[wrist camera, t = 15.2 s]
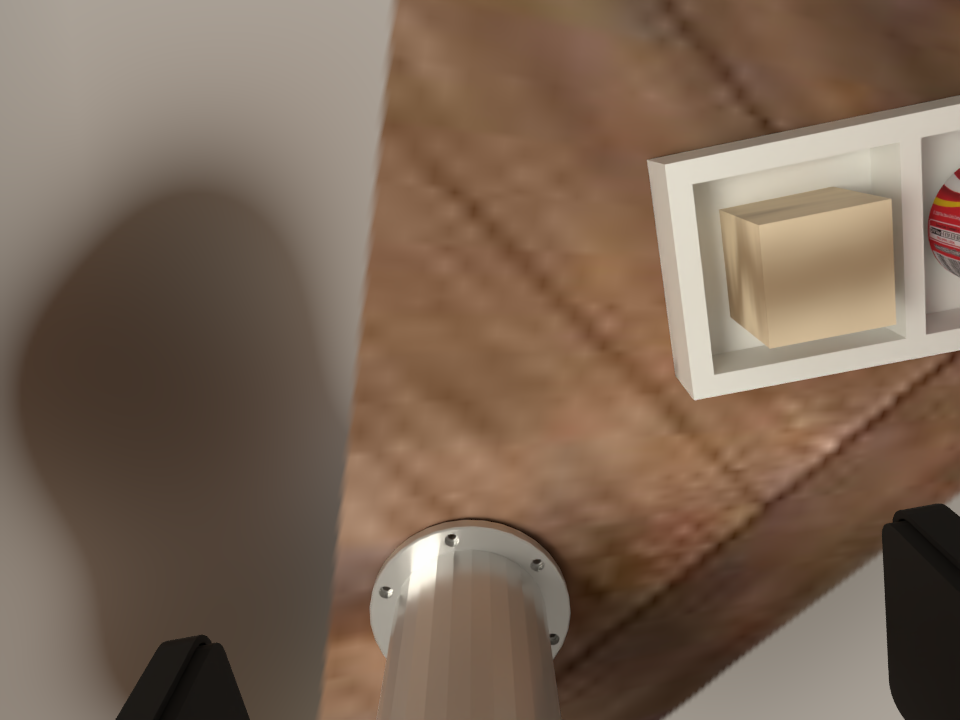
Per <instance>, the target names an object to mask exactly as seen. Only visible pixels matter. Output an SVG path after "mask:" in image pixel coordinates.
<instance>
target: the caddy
mask: <svg viewBox="0 0 960 720" xmlns="http://www.w3.org/2000/svg"><path fill="white" fill-rule="evenodd" d="M647 163H648V171H649V178H650V186H651V194H652V201H653V209H654V216H655V224H656V232H657V239H658V247H659V254H660V262H661V270H662V277H663V285H664V292H665V300H666V308H667V315H668V323H669V330H670V338H671V346H672V353H673V361H674V368H675V376H676V377H677V378H678V380H679V381H680V382H681V384H682V385H683V386H684V388H685V389H686V390H687V392H688V393H689V394H690V395H691V397H692V398H693V399H694V400H698V399H703V398H709V397H714V396H719V395H725V394H730V393H735V392H741V391H746V390H751V389H756V388H762V387H767V386H772V385H778V384H783V383H788V382H794V381H799V380H804V379H809V378H815V377H820V376H825V375H831V374H836V373H841V372H847V371H852V370H857V369H862V368H868V367H873V366H878V365H884V364H889V363H894V362H900V361H905V360H910V359H915V358H921V357H926V356H931V355H937V354H942V353H947V352H953V351H958V350H960V278H959V277H958V276H956V275H954V274H952V273H951V272H949V271H948V270H946V269H945V268H944V267H943V266H942V265H941V264H940V263H939V262H938V260H937V259H936V258H935V256H934V254H933V252H932V250H931V247H930V243H929V239H928V219H929V214H930V210H931V207H932V204H933V202H934V199H935V197H936V196H937V194H938V192H939V190H940V189H941V187H942V186H943V185H944V183H945V182H946V181H947V180H948V178H949V177H950V176H951V175H952V174H953V173H954V172H956V171H957V170H958V169H959V168H960V95H958V96H954V97H949V98H944V99H939V100H934V101H929V102H925V103H920V104H915V105H910V106H905V107H900V108H895V109H891V110H886V111H881V112H876V113H871V114H866V115H862V116H857V117H852V118H847V119H842V120H837V121H833V122H828V123H823V124H818V125H813V126H808V127H803V128H799V129H794V130H789V131H784V132H779V133H774V134H770V135H765V136H760V137H755V138H750V139H745V140H741V141H736V142H731V143H726V144H721V145H716V146H711V147H707V148H702V149H697V150H692V151H687V152H682V153H678V154H673V155H668V156H663V157H658V158H653V159H649V160H647ZM828 187H837V188H842V189H847V190H852V191H857V192H861V193H866V194H871V195H876V196H881V197H886V198H890V199H892V223H893V250H894V276H895V303H896V325H891V326H886V327H881V328H876V329H870V330H865V331H860V332H855V333H850V334H844V335H839V336H834V337H829V338H823V339H818V340H813V341H808V342H802V343H797V344H792V345H787V346H782V347H776V348H771V349H770V348H768V347H767V346H766V345H765V344H763V343H762V342H761V341H760V340H758V339H757V338H756V337H755V336H753V335H752V334H751V333H750V332H748V331H747V330H746V329H745V328H743V327H742V326H741V325H740V324H738V323H737V322H736V321H735V320H733V319H732V318H731V317H730V309H729V299H728V290H727V280H726V271H725V261H724V252H723V243H722V233H721V224H720V214H719V209H724V208H729V207H734V206H739V205H744V204H749V203H754V202H759V201H764V200H769V199H774V198H779V197H784V196H789V195H794V194H799V193H804V192H809V191H814V190H818V189H823V188H828Z"/></svg>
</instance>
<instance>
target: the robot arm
mask: <svg viewBox="0 0 960 720" xmlns="http://www.w3.org/2000/svg"><path fill="white" fill-rule="evenodd" d="M449 534H455V535H454V536H451V535H449ZM882 544H883V565H884V584H885V585H884V586H885V606H886V628H887V648H888V670H889V685H890V689H891V694H892V696H893V699H894V702H895V704H896V706H897V708H898V710H899V712H900V713H901V715H902V716H903V717H904V719H905V720H960V517H959V516H958V515H957V514H955V512H953V511H952V510H951V509H950V508H948V507H947V506H945V505H944V504H933V505H927V506H922V507H916V508H910V509H905V510H899V511H897V512H896V513H895V514H894V517H893V523H889V524H885V525H884V527H883V529H882ZM535 559H538V560H535ZM386 586H387V587H386ZM570 615H571V613H570V601H569V594H568V590H567V585H566V582H565V579H564V577H563V575H562V572H561V570H560V568H559V566H558V565H557V563H556V562H555V561H554V559H553V558H552V556H551V555H550V554H549V552H547V551H546V550H545V549H544V548H543V547H542V546H541V545H540V544H539V543H538V542H537V541H535V540H534V539H532V538H530V537H529V536H527V535H526V534H524V533H522V532H521V531H519V530H516V529H514V528H511V527H508V526H506V525H503V524H499V523H494V522H489V521H484V520H459V521H451V522H445V523H441V524H438V525H435V526H432V527H429V528H426V529H424V530H422V531H420V532H419V533H417V534H415V535H413V536H411V537H409V538H408V539H407V540H406V541H404V542H403V543H402V544H401V545H399V546H398V547H397V548H396V549H395V550H394V551H393V552H392V554H391V555H390V556H389V557H388V558H387V560H386V561H385V562H384V564H383V566H382V568H381V569H380V571H379V573H378V575H377V577H376V581H375V584H374V588H373V591H372V597H371V603H370V621H371V627H372V631H373V634H374V637H375V641H376V642H377V644H378V646H379V648H380V650H381V652H382V654H383V655H384V656H385V658H386V665H385V671H384V677H383V683H382V689H381V696H380V702H379V708H378V714H377V720H562V719H561V712H560V705H559V698H558V691H557V684H556V677H555V670H554V663H553V660H554V658H555V656H556V655H557V653H558V652H559V650H560V649H561V647H562V645H563V643H564V640H565V638H566V635H567V632H568V629H569V622H570ZM116 720H250V719H249V716H248V713H247V710H246V708H245V705H244V702H243V700H242V697H241V694H240V691H239V688H238V686H237V683H236V681H235V677H234V675H233V672H232V669H231V667H230V664H229V661H228V658H227V655H226V653H225V650H224V648H223V646H222V645H221V644H219V643H211V641H210V639H209V638H208V637H207V636H205V635H198V636H192V637H186V638H181V639H175V640H170V641H166V642H163V643H162V644H161V645H160V646H159V647H158V649H157V650H156V652H155V654H154V656H153V657H152V659H151V661H150V662H149V664H148V666H147V667H146V669H145V671H144V673H143V674H142V676H141V677H140V679H139V681H138V682H137V684H136V686H135V688H134V689H133V691H132V693H131V694H130V696H129V698H128V699H127V701H126V703H125V704H124V706H123V708H122V710H121V711H120V713H119V715H118V716H117V718H116Z"/></svg>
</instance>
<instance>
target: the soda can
mask: <svg viewBox="0 0 960 720" xmlns="http://www.w3.org/2000/svg"><path fill="white" fill-rule="evenodd" d="M928 239H929V243H930V247H931V250H932V252H933V254H934V256H935V258H936V259H937V260H938V262H939V263H940V264H941V265H942V266H943V267H944V268H945V269H946V270H948V271H949V272H951V273H952V274H954V275H956V276H958V277H959V278H960V168H959V169H958V170H957V171H956V172H954V173H953V174H952V175H951V176H950V177H949V178H948V180H947V181H946V182H945V183H944V185H943V186H942V187H941V189H940V190H939V192H938V194H937V196H936V197H935V199H934V202H933V204H932V207H931V210H930V214H929V219H928Z"/></svg>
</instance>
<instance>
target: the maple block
mask: <svg viewBox="0 0 960 720" xmlns="http://www.w3.org/2000/svg"><path fill="white" fill-rule="evenodd" d="M719 214H720V224H721V233H722V243H723V252H724V261H725V271H726V280H727V290H728V299H729V309H730V317H731V318H732V319H733V320H735V321H736V322H737V323H738V324H740V325H741V326H742V327H743V328H745V329H746V330H747V331H748V332H750V333H751V334H752V335H753V336H755V337H756V338H757V339H758V340H760V341H761V342H762V343H763V344H765V345H766V346H767V347H768V348H770V349H771V348H776V347H782V346H787V345H792V344H797V343H802V342H808V341H813V340H818V339H823V338H829V337H834V336H839V335H844V334H850V333H855V332H860V331H865V330H870V329H876V328H881V327H886V326H891V325H896V303H895V276H894V250H893V223H892V199H890V198H886V197H881V196H876V195H871V194H866V193H861V192H857V191H852V190H847V189H842V188H837V187H828V188H823V189H818V190H814V191H809V192H804V193H799V194H794V195H789V196H784V197H779V198H774V199H769V200H764V201H759V202H754V203H749V204H744V205H739V206H734V207H729V208H724V209H719Z"/></svg>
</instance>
